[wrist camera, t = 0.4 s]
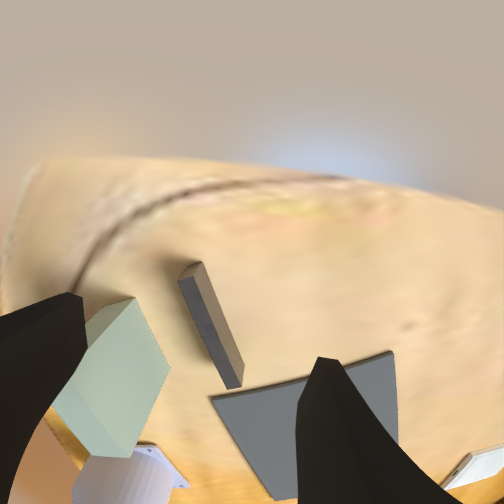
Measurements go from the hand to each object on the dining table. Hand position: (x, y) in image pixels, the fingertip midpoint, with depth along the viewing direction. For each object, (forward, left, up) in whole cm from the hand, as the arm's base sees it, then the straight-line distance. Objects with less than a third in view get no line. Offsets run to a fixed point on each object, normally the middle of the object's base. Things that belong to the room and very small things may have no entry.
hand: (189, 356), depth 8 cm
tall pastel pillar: (-9, -4, -11) cm, 15 cm away
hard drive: (+23, -40, -12) cm, 47 cm away
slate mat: (+2, -19, -11) cm, 22 cm away
